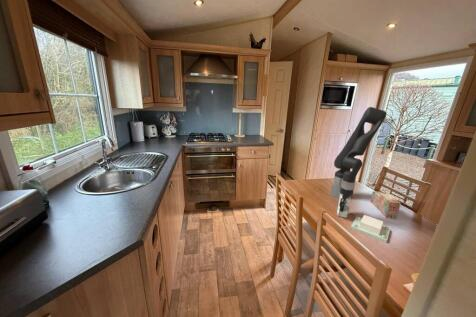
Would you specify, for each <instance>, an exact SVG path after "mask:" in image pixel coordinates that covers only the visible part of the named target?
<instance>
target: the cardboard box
mask: <svg viewBox="0 0 476 317" xmlns="http://www.w3.org/2000/svg"><path fill="white" fill-rule="evenodd" d="M370 202H371V203H372V205H373V206H374V207H375V208H376V209H377V210H378V212H380V213H381V214H382V215H383V216H384V218H386V219H397V217H398V213H399V210H400V208H401V202H400V201H399V200H398V199H397V198H396V197H394V196H393V195H392V194H390V193H384V192H383V191H377V190H375V191H374V190H373V191H372V195H371V200H370Z"/></svg>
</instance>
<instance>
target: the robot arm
mask: <svg viewBox="0 0 476 317" xmlns="http://www.w3.org/2000/svg"><path fill="white" fill-rule="evenodd" d="M386 117H387V111H386V110H382V109H380V108H377V107H373V106H369V107H367V109H366V110H365V111H364V113H363V114H362V116H361V118H360V120H359V121H358V124H357V126H356V127H355V129H354V131H353V132H352V133H351V135H350V137H349V138H348V140H347V142H346V143H345V145H344V146H343V148H342V149H341V151H340V152H339V154H338V155H337V156H336V157H335V159H334V161H333V166H334V167H335V168H336V169H337V170H336V171H335V172H334V177H333V183H332V184H331V190H330V196H332V197H334V198H336V199H339V198H340V194H342V195H343V196H342V198H341V199H340V205H339V206H340V211H341V212H343V211H344V207H345V204H346V203H347V200H346V198H347V199H348V197H350V198H351V196H353V195H354V191H355V187H356V180H357V175H358V173H359V172H360V170H361V168H362V166H363V161H362V160H361V159H360V158H356V157H357V156H358V157H359V156H360V157H361V156H363V155H364V154H365V152H366V151H367V149H368V147H369V144H370V142H371V141H372V139H373V138H374V137H375V135H376V133H377V132H378V130H379V129H380V127H381V126H382V124H383V123H384V121H385V119H386ZM366 123H368V124H370V125H373V126H372V128H371V129H370V130H368V131H367V132H365V124H366ZM345 201H346V202H345ZM342 204H343V205H342Z"/></svg>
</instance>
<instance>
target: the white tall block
mask: <svg viewBox="0 0 476 317" xmlns="http://www.w3.org/2000/svg"><path fill="white" fill-rule="evenodd" d="M342 196H343V195H342V194H340V198H338V204H337V210H336V214H337V216H338V217H339V218H345V219H348V216H349V211H350V207H351V202H352V198H351V196H350V197H348V199H347V198H346V200H347V203H346V204H345V207H344V211H343V212H341V211H340V206H339V205H340V199H341V198H342ZM345 202H346V201H345ZM342 205H343V204H342Z"/></svg>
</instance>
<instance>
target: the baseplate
mask: <svg viewBox="0 0 476 317" xmlns="http://www.w3.org/2000/svg"><path fill="white" fill-rule="evenodd" d="M383 223H384V221H383V220H380V219H378V218H374V217H371V216H368V215H366V214H363V215H362V217H360V216H355V219H354V220H353V221H352V223H351V225H350V229H351V230H354V231H357V232H359V233H362V234H364V235H367V236H369V237H372V238H374V239H376V240H379V241H381V242H384V243H387V242H388V238H389V236H390V231H391V228H390V227H388V226H385V225H383Z"/></svg>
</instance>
